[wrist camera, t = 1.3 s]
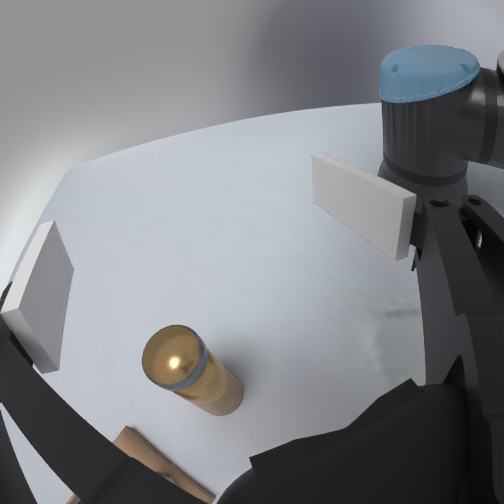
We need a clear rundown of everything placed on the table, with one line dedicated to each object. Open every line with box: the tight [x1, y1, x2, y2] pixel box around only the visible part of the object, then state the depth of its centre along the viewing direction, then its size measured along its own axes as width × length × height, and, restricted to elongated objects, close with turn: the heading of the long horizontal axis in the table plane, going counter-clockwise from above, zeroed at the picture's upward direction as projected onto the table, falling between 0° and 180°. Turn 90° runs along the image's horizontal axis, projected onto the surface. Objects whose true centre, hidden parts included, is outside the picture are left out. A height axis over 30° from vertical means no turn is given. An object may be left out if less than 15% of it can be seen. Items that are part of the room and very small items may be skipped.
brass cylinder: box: [142, 325, 243, 416], centre depth 28 cm, size 5×5×12 cm
